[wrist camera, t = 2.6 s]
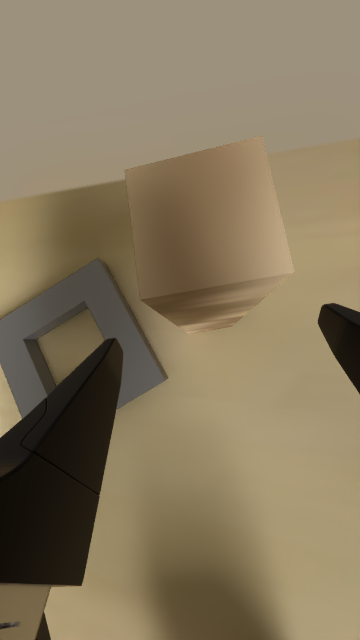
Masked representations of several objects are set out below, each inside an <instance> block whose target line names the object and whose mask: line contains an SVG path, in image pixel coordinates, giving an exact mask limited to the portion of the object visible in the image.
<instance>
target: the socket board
mask: <svg viewBox="0 0 360 640" xmlns="http://www.w3.org/2000/svg"><path fill="white" fill-rule="evenodd" d="M86 308H89V310H90V312H91V314H92V316H93V318H94V320H95V322H96V324H97V326H98V328H99V330H100V331H101V333H102V335H103V337H104V339H105V340H106V339H109V338H116V339H117V340H118V342H119V344H120V346H121V348H122V350H123V367H122V380H121V387H120V393H119V398H118V403H117V408H116V409H118V408H120V407H121V406H123V405H125V404H127V403H128V402H130V401H132V400H133V399H135V398H137V397H138V396H140V395H142V394H143V393H145V392H147V391H148V390H150V389H152V388H153V387H155V386H157V385H159V384H160V383H162V382H164V381H165V380H166V379H168V377H167V375H166V373H165V371H164V370H163V368H162V366H161V364H160V362H159V361H158V359H157V357H156V355H155V353H154V351H153V350H152V348H151V346H150V344H149V342H148V341H147V339H146V337H145V335H144V333H143V332H142V330H141V328H140V326H139V324H138V322H137V321H136V319H135V317H134V315H133V313H132V312H131V310H130V308H129V306H128V304H127V303H126V301H125V299H124V297H123V295H122V293H121V292H120V290H119V288H118V286H117V284H116V283H115V281H114V279H113V277H112V275H111V274H110V272H109V270H108V268H107V266H106V264H105V263H103V262H102V261H101V260H100V259H98V258H97V259H95V260H94V261H92V262H90V263H89V264H87V265H86V266H84V267H82V268H81V269H79V270H78V271H76V272H75V273H73V274H71V275H70V276H68V277H67V278H65V279H64V280H62V281H60V282H59V283H57V284H56V285H54V286H53V287H51V288H49V289H48V290H46V291H45V292H43V293H41V294H40V295H38V296H37V297H35V298H34V299H32V300H30V301H29V302H27V303H26V304H24V305H23V306H21V307H19V308H18V309H16V310H15V311H13V312H12V313H10V314H8V315H7V316H5V317H4V318H2V319H0V364H1V367H2V369H3V372H4V374H5V377H6V379H7V382H8V384H9V387H10V389H11V392H12V394H13V397H14V399H15V402H16V404H17V407H18V409H19V412H20V414H21V417H22V419H23V418H24V417H25V416H26V415H27V414H28V413H29V412H31V411H32V410H33V409H34V408H35V407H36V406H37V405H38V404H39V403H40V402H41V401H42V400H43V399H44V398H47V396H48V395H49V394H50V393H51V392H52V391H53V390H54V389H55V388H56V384H55V382H54V380H53V378H52V375H51V373H50V371H49V369H48V366H47V364H46V362H45V360H44V357H43V355H42V353H41V351H40V348H39V346H38V344H37V342H36V339H38V338H39V337H41V336H43V335H44V334H46V333H47V332H49V331H51V330H52V329H54V328H55V327H57V326H59V325H60V324H62V323H63V322H65V321H67V320H68V319H70V318H71V317H73V316H75V315H76V314H78V313H79V312H81V311H83V310H84V309H86Z"/></svg>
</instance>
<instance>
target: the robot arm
mask: <svg viewBox="0 0 360 640" xmlns="http://www.w3.org/2000/svg"><path fill="white" fill-rule="evenodd" d="M318 325H319V327H320V329H321V331H322V333H323V335H324V337H325V339H326V341H327V343H328V345H329V347H330V349H331V351H332V352H333V354H334V356H335V358H336V359H337V361H338V362H339V364H340V365H341V367H342V368H343V370H344V371H345V373H346V374H347V376H348V377H349V379H350V380H351V382H352V383H353V385H354V386H355V388H356V389H357V391H358V392H359V394H360V312H358V311H355V310H352V309H349V308H347V307H344V306H341V305H338V304H335V303H330V304H324V305H323V306H322V307H321V310H320V314H319V318H318ZM122 367H123V350H122V348H121V346H120V344H119V342H118V340H117V339H116V338H109V339H106V340H105V341H104V342H103V343H102V344H101V345H100V346H99V347H98V348H97V349H96V350H95V351H94V352H93V353H92V354H91V355H89V356H88V357H87V358H86V359H85V360H84V361H83V362H82V363H81V364H80V365H79V366H78V367H77V368H76V369H75V370H74V371H73V372H72V373H71V374H70V375H69V376H67V377H66V378H65V379H64V380H63V381H62V382H61V383H60V384H59V385H58V386H57V387H56V388H55V389H54V390H53V391H52V392H51V393H50V394H49V395H48V396H47V398H44V399H43V400H42V401H41V402H40V403H39V404H38V405H37V406H36V407H35V408H34V409H33V410H32V411H31V412H29V413H28V414H27V415H26V416H25V417H24V418H23V419H22V420H21V421H19V422H18V423H17V424H16V425H15V426H14V427H12V428H11V429H10V430H9V431H8V432H7V433H5V434H4V435H3V436H2V437H1V438H0V640H51V639H50V634H49V630H48V626H47V622H46V618H45V614H44V609H45V606H46V602H47V599H48V595H49V592H50V589H51V587H64V586H82V582H83V578H84V574H85V569H86V563H87V558H88V553H89V548H90V543H91V538H92V533H93V527H94V522H95V517H96V512H97V507H98V502H99V495H100V491H101V485H102V480H103V475H104V470H105V465H106V460H107V455H108V449H109V444H110V439H111V434H112V429H113V424H114V418H115V413H116V408H117V403H118V398H119V393H120V387H121V380H122Z"/></svg>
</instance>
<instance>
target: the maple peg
mask: <svg viewBox="0 0 360 640" xmlns="http://www.w3.org/2000/svg"><path fill="white" fill-rule="evenodd" d="M125 178H126V186H127V195H128V203H129V211H130V220H131V228H132V236H133V245H134V253H135V261H136V270H137V278H138V286H139V295H140V300H141V301H143V302H144V303H145V304H147V305H148V306H150V307H151V308H152V309H154V310H155V311H157V312H158V313H160V314H161V315H162V316H164V317H165V318H167V319H168V320H170V321H171V322H172V323H174V324H175V325H177V326H178V327H179V328H181V329H182V330H184V331H185V332H187V333H194V332H200V331H207V330H213V329H220V328H226V327H232V326H233V325H234V324H235V323H236V322H237V321H239V320H240V319H241V318H242V317H243V316H244V315H246V314H247V313H248V312H249V311H250V310H251V309H253V308H254V307H255V306H256V305H257V304H258V303H259V302H261V301H262V300H263V299H264V298H265V297H266V296H268V295H269V294H270V293H271V292H272V291H273V290H275V289H276V288H277V287H278V286H279V285H280V284H282V283H283V282H284V281H285V280H286V279H287V278H289V277H290V276H291V275H292V274H293V273H294V269H293V265H292V260H291V256H290V252H289V248H288V243H287V239H286V235H285V231H284V226H283V222H282V218H281V214H280V209H279V205H278V201H277V197H276V192H275V188H274V184H273V180H272V175H271V171H270V167H269V163H268V158H267V154H266V150H265V146H264V142H263V137H262V136H260V137H256V138H252V139H248V140H244V141H240V142H236V143H232V144H228V145H223V146H220V147H216V148H212V149H207V150H203V151H199V152H195V153H191V154H188V155H183V156H180V157H176V158H171V159H167V160H164V161H159V162H155V163H151V164H147V165H143V166H139V167H135V168H131V169H127V170H125Z"/></svg>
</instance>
